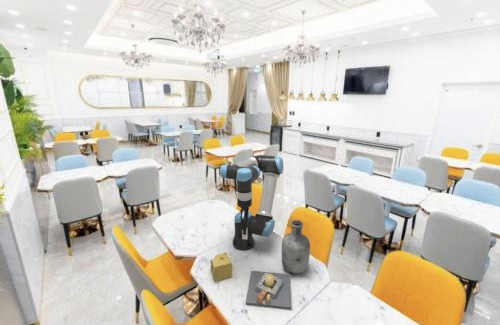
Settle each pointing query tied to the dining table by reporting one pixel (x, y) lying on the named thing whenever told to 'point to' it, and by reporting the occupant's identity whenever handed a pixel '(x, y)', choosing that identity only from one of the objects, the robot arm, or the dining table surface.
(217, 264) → the cheese
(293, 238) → the vase
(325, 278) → the dining table surface
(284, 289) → the jig
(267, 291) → the handled square frame
